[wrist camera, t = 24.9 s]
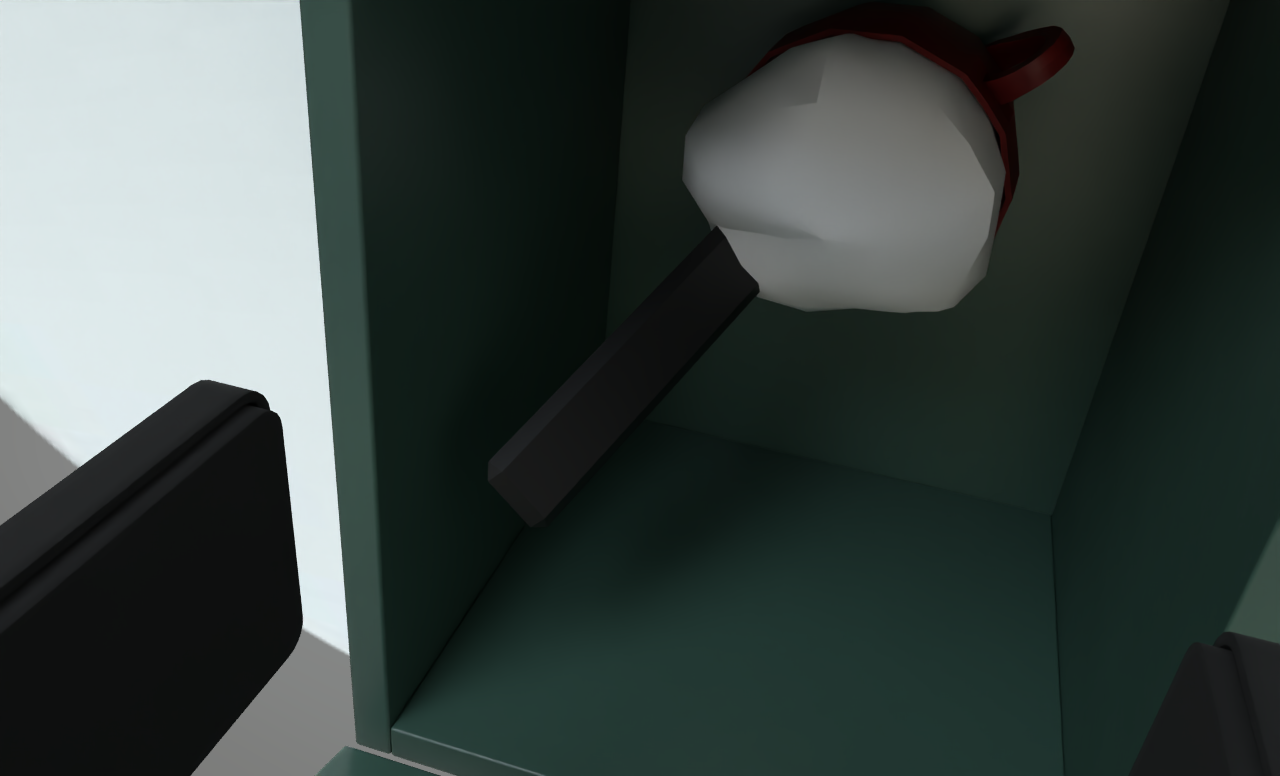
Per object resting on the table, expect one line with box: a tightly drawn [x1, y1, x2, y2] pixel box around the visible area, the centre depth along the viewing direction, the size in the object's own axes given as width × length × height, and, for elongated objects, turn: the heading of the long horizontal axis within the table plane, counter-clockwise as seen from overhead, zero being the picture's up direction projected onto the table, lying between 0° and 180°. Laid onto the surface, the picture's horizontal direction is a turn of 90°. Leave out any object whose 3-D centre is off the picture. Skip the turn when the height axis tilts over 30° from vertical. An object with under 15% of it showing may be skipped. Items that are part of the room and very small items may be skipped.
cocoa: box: [488, 2, 1075, 527], centre depth 21 cm, size 10×6×12 cm, turn 105°
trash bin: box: [300, 0, 1280, 776], centre depth 22 cm, size 18×15×14 cm
